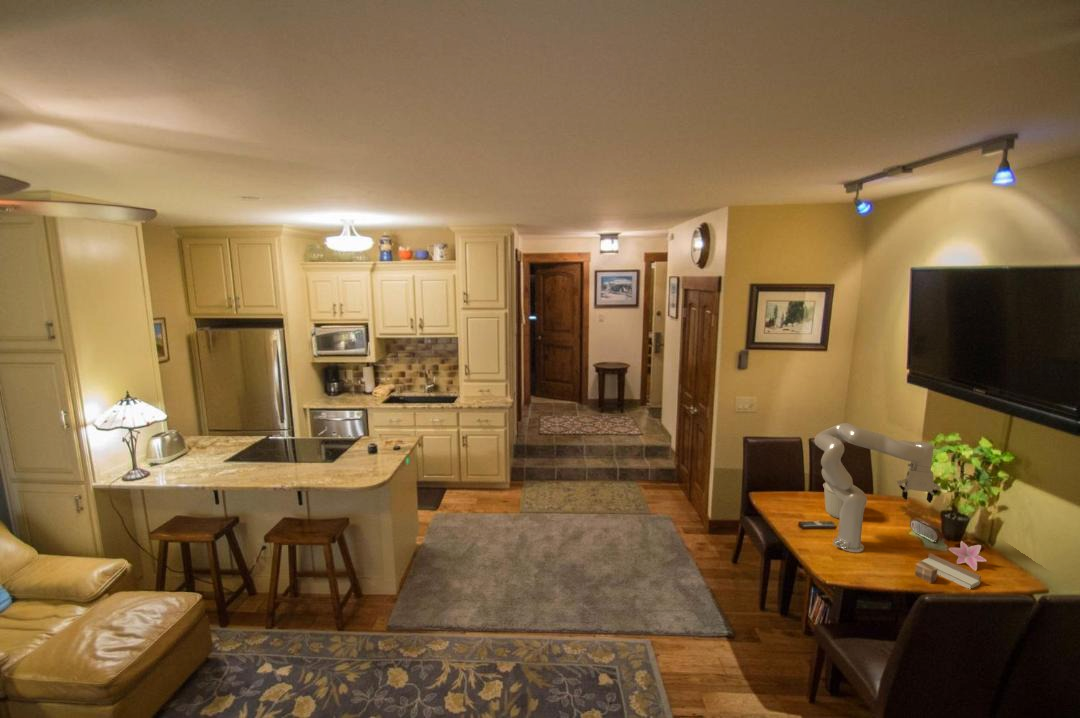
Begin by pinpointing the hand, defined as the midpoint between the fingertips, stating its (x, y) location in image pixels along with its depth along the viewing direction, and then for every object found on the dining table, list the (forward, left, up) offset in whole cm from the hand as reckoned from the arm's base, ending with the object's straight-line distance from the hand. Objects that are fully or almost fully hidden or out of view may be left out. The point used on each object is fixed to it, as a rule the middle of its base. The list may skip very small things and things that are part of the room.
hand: (916, 500), depth 226 cm
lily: (+7, -19, -25) cm, 33 cm away
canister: (-1, +36, -25) cm, 44 cm away
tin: (+15, +2, -25) cm, 29 cm away
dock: (-10, -20, -25) cm, 34 cm away
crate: (-22, -17, -25) cm, 38 cm away
